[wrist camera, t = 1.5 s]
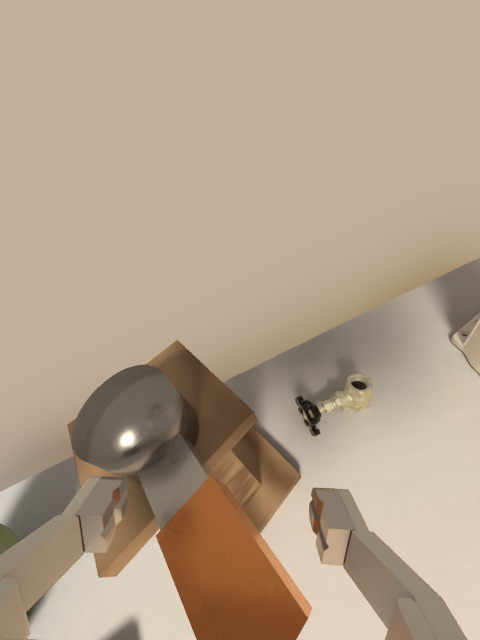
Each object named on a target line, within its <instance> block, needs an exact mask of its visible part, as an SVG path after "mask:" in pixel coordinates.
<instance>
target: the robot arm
mask: <svg viewBox="0 0 480 640" xmlns="http://www.w3.org/2000/svg"><path fill="white" fill-rule="evenodd" d="M451 341H452V342H453V344H455V345H456V346H457V347H458V348H459V349H460V350H462V351H463V353H464V354H465V356H466V358H467V360H468V361H469V363H470V364H471V366H472V367H473V368H474V369H475V370H476V371H477V372H478V373H479V374H480V312H479V313H478V314H477V315H476V316H475V317H473V318H472V319H471V320H470V321H469V322H468V323H466V324H465V325H464V326H463V327H462V328H461V329H459V330H458V331H457V332H456V333H455V334H454V335H453V336H452V337H451ZM127 485H128V481H127V478H120V477H109V476H95V475H91V476H90V477H89V478H88V479H87V480H86V481H85V482H84V484H83V485H82V487H81V488H80V489H79V491H78V492H77V493H76V495H75V496H74V498H73V499H72V500H71V502H70V503H69V504H68V506H67V507H66V509H65V510H64V511H63V513H62V514H61V515H56V516H55V517H54V518H52V519H51V520H49V521H48V522H46V523H45V524H44V525H42V526H41V527H39V528H38V529H36V530H35V531H34V532H32V533H31V534H29V535H28V536H27V537H25V538H24V539H22V540H21V541H19V542H18V543H17V544H15V545H14V546H12V547H11V548H9V549H8V550H7V551H5V552H4V553H2V554H1V555H0V640H34V639H27V638H28V636H29V634H30V627H29V623H28V619H27V615H26V612H27V611H28V610H29V609H30V608H31V607H32V606H33V605H34V604H35V603H36V602H37V601H38V600H39V599H40V598H41V597H42V596H43V595H44V594H45V593H46V592H47V591H48V590H49V589H50V588H51V587H52V586H53V585H54V584H55V583H56V582H57V581H58V580H59V579H60V578H61V577H62V576H63V575H64V574H65V572H66V571H67V570H68V569H69V568H70V567H71V566H72V565H73V564H74V563H75V562H76V561H77V560H78V559H79V558H80V557H81V556H82V555H83V554H84V553H83V552H92V553H106V552H107V550H108V548H109V546H110V544H111V542H112V540H113V538H114V536H115V533H116V528H115V526H116V525H117V524H118V523H119V522H120V521H121V520H122V519H123V516H124V514H125V512H126V508H127V505H128V499H129V493H128V491H127V490H126V487H127ZM311 495H312V498H313V500H312V501H311V502H310V506H309V517H310V522H311V527H312V530H313V531H314V533H315V534H316V535H317V540H316V545H317V549H318V553H319V556H320V560H321V564H328V565H340V566H344V569H345V570H346V571H347V573H348V574H349V576H350V577H351V578H352V580H353V581H354V583H355V584H356V585H357V587H358V588H359V590H360V591H361V592H362V594H363V595H364V597H365V598H366V599H367V601H368V602H369V604H370V605H371V606H372V608H373V609H374V611H375V612H376V613H377V615H378V616H379V617H380V619H381V620H382V622H383V623H384V624H385V626H386V627H387V629H388V631H387V635H386V638H385V640H467V638H466V637H465V635H464V633H463V632H462V630H461V628H460V627H459V625H458V623H457V622H456V620H455V618H454V617H453V615H452V613H451V612H450V610H449V608H448V607H447V605H446V603H445V602H444V600H443V599H442V598H441V597H440V596H439V595H438V594H437V593H436V592H435V591H434V590H433V589H432V588H431V587H430V586H429V585H428V584H427V583H426V582H425V581H424V580H423V579H422V578H421V577H420V576H418V575H417V574H416V573H415V572H414V571H413V570H412V569H411V568H410V567H409V566H408V565H407V564H406V563H405V562H404V561H403V560H402V559H401V558H400V557H399V556H398V555H397V554H396V553H395V552H394V551H393V550H391V549H390V548H389V547H388V546H387V545H386V544H385V543H384V542H383V541H382V540H381V539H380V538H379V537H378V536H377V535H376V534H375V533H374V532H369V529H368V527H367V525H366V523H365V521H364V519H363V517H362V515H361V513H360V511H359V509H358V507H357V505H356V503H355V501H354V499H353V497H352V495H351V493H350V491H349V490H348V489H335V488H313V489H312V493H311Z"/></svg>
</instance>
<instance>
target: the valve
mask: <svg viewBox="0 0 480 640" xmlns="http://www.w3.org/2000/svg"><path fill="white" fill-rule="evenodd" d="M371 398H372V385H371V380H370V378H369V377H367V376H365V375H363V374H361V373H358V372H357V373H354V374H352V375H350V376H348V377H347V384H346V385H345V387H344V391H342V392H341V391H336V392H334V393H333V397H332V400H331V401H329V400H328V399H327V400H325V401H323V402H321V406H319V407H317V406H316V405H313V404H312V403H311V402H310V401H307V400H305V401H303V400H304V399H303V397H302V396H299V397H297V398H296V399H295V402H296V404H297V405H298V406H299V408H298V410H299V412H300V414H302V416H303V418H304V423H305V425H306V426H307V427H309V430H310V433H311V434H312V436H317V435H319V434H320V431H319V429H315V425H316V424H317V423H318V422H319V421H320V417H321V413H322V412H324V411H325V412H326V413H329V412H331V411H334V407H336V408H340V409H342V410H345V409H347V408H351V409H353V410H355V411H356V412H359V411H362V410H364V409H366V408H368V404H369V402H370V401H371ZM308 404H309V406H310V407H309V406H308Z"/></svg>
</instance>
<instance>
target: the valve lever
mask: <svg viewBox="0 0 480 640" xmlns="http://www.w3.org/2000/svg"><path fill="white" fill-rule="evenodd" d="M198 433H199V420H198V416H197V413H196V411H195V409H194V408H193V407H192V406H191V404H190V403H189V402H188V401H187V400H186V399H185V398H184V396H183V395H182V394H181V393H180V392H179V391H178V390H177V389H176V387H175V386H174V385H173V384H172V383H171V382H170V381H169V379H168V378H167V377H166V376H165V375H164V374H163V373H162V372H161V371H160V370H159V369H158V368H156V367H154V366H150V365H138V366H133V367H130V368H127V369H124V370H122V371H120V372H118V373H117V374H115V375H113V376H112V377H111V378H109V379H108V380H107V381H105V382H104V383H103V384H102V385H101V386H100V387H98V388H97V390H96V391H95V392H94V393H93V394H92V395H91V396H90V397H89V399H88V400H87V401H86V403H85V404H84V406H83V407H82V409H81V411H80V412H79V414H78V416H77V419H76V421H75V424H74V427H73V432H72V447H73V450H74V452H75V454H76V455H77V456H78V457H79V458H80V459H81V460H83V461H85V462H87V463H90V464H92V465H95V466H97V467H99V468H102V469H104V470H107V471H109V472H112V473H114V474H116V475H119V476H121V477H124V478H127V479H128V480H131V481H133V482H136V483H138V484H142V486H143V489H144V491H145V494H146V496H147V498H148V501H149V503H150V506H151V508H152V511H153V513H154V515H155V518H156V520H157V523H158V525H159V527H160V530H161V531H160V532H159V533H158V534H157V535H156V538H157V540H158V543H159V545H160V548H161V550H162V553H163V555H164V558H165V560H166V563H167V565H168V568H169V570H170V573H171V576H172V578H173V581H174V583H175V586H176V588H177V591H178V593H179V596H180V598H181V601H182V603H183V606H184V609H185V611H186V614H187V616H188V619H189V621H190V624H191V626H192V629H193V631H194V634H195V636H196V639H197V640H296V639H297V637H298V635H299V633H300V632H301V630H302V628H303V626H304V625H305V623H306V621H307V619H308V617H309V615H310V612H311V610H312V607H311V606H310V604H309V603H308V601H307V600H306V599H305V597H304V596H303V594H302V593H301V591H300V590H299V589H298V587H297V586H296V584H295V583H294V581H293V580H292V579H291V577H290V576H289V574H288V573H287V571H286V570H285V569H284V567H283V566H282V564H281V563H280V562H279V560H278V559H277V557H276V556H275V554H274V553H273V552H272V550H271V549H270V547H269V546H268V544H267V543H266V542H265V540H264V539H263V537H262V536H261V534H260V533H259V532H258V530H257V529H256V527H255V526H254V524H253V523H252V522H251V520H250V519H249V517H248V516H247V515H246V513H245V512H244V510H243V509H242V507H241V506H240V505H239V503H238V502H237V500H236V499H235V497H234V496H233V495H232V493H231V492H230V490H229V489H228V487H227V486H226V485H224V484H223V483H222V482H220V481H219V480H218V479H217V478H216V476H215V475H214V474H213V472H212V471H211V469H210V468H209V466H208V465H207V463H206V462H205V460H204V459H203V458H202V456H201V455H200V453H199V452H198V450H197V449H196V447H195V445H196V442H197V438H198Z"/></svg>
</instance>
